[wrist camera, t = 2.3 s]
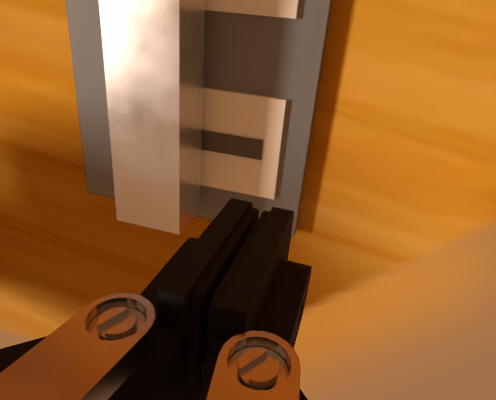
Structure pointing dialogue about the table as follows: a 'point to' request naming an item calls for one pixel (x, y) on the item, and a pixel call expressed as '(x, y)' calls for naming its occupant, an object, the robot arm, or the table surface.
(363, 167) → the table surface
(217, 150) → the label board
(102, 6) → the swing bar
